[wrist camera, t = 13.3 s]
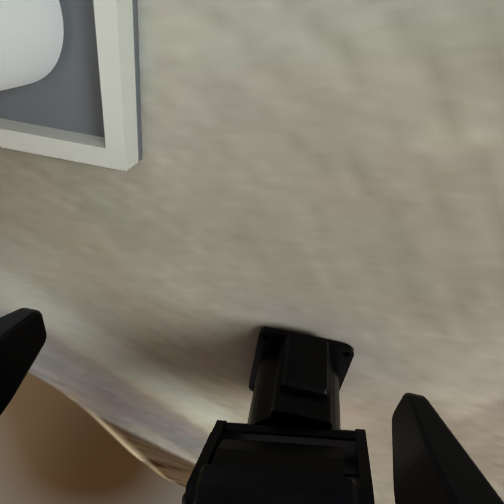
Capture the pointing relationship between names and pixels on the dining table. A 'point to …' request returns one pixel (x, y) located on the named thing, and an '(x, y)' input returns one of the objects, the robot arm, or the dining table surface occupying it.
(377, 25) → the dining table surface
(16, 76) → the can
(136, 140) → the square tray
